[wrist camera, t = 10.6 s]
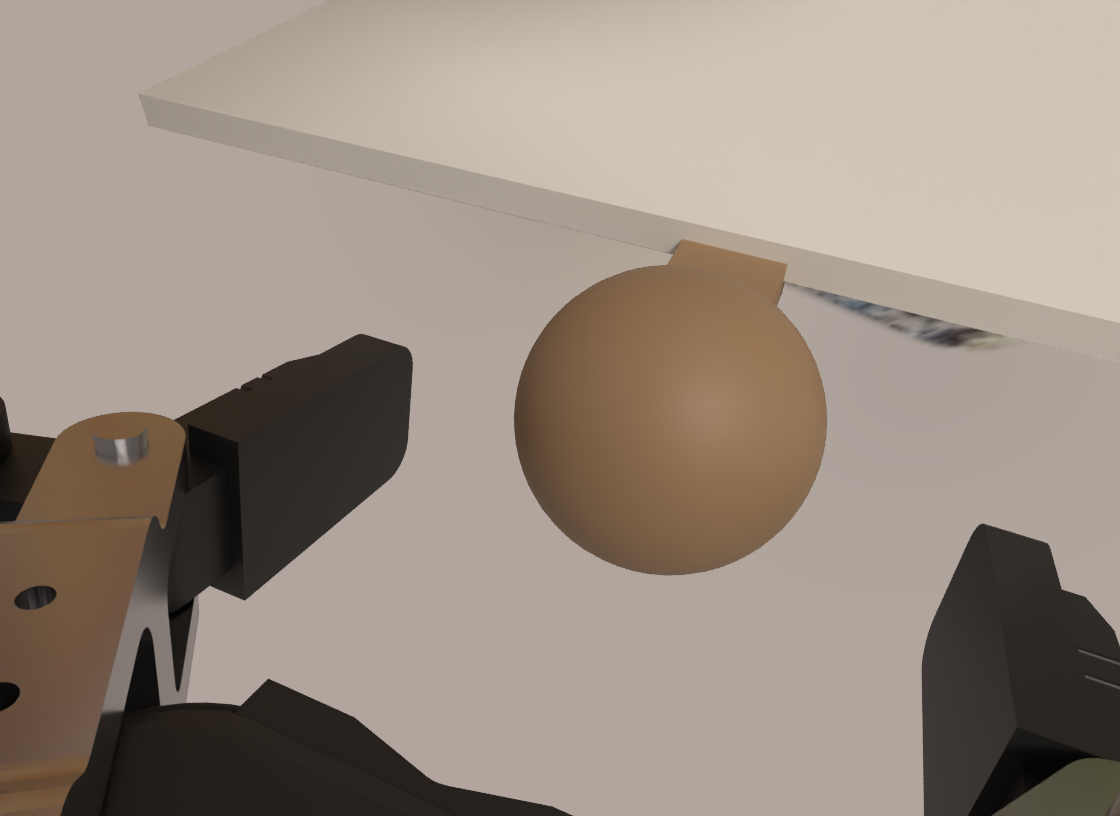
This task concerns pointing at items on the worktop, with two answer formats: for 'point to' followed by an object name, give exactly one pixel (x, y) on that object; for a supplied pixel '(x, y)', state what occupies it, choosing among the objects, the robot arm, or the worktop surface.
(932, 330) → the worktop surface
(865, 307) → the worktop surface
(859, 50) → the carton lid
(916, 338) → the worktop surface
